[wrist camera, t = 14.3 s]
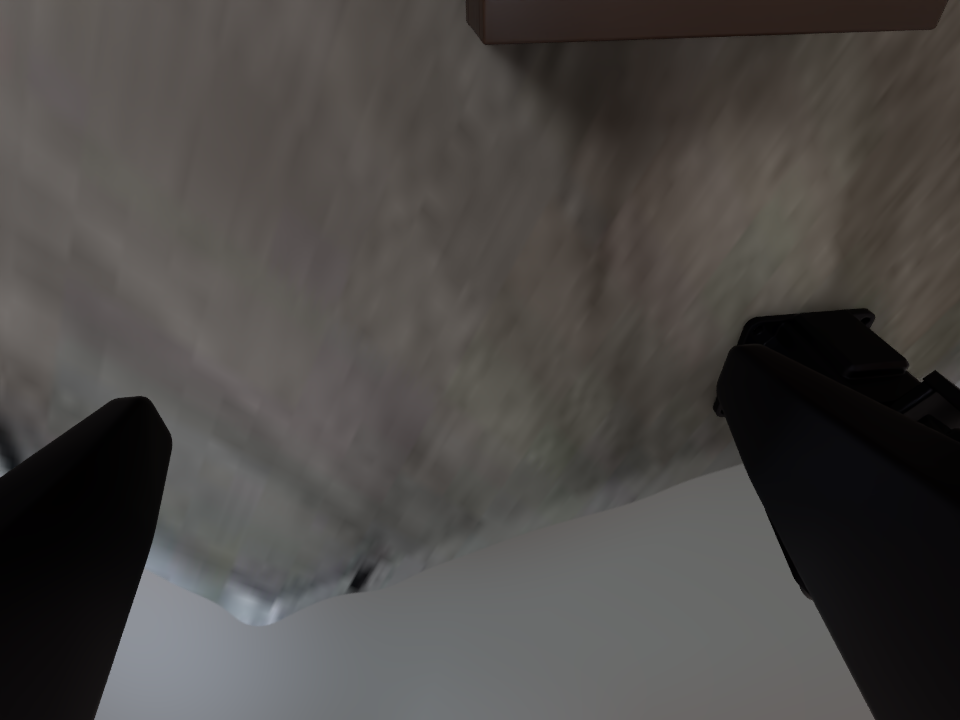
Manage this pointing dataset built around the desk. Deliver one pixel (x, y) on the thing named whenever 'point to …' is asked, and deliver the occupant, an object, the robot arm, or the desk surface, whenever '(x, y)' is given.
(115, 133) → the desk surface
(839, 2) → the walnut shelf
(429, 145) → the desk surface
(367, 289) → the desk surface
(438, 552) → the desk surface
